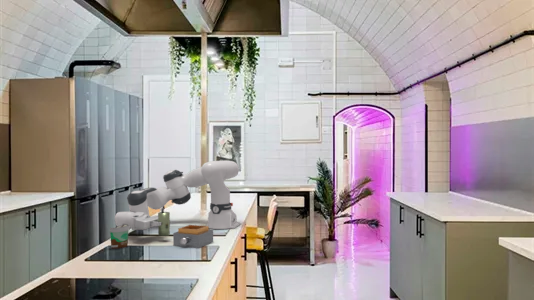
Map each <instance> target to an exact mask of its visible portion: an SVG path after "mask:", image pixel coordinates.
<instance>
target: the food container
mask: <svg viewBox="0 0 534 300" xmlns="http://www.w3.org/2000/svg"><path fill="white" fill-rule="evenodd" d="M130 230H131V229H130V227H129V225H128V224H122V226H115V227H110V228H109V235H110V249H111V250H112V249H113V250H117V249H118V250H119V249H125V248H127V247H128V243H129V232H130Z"/></svg>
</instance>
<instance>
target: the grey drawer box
mask: <svg viewBox="0 0 534 300" xmlns="http://www.w3.org/2000/svg"><path fill="white" fill-rule="evenodd" d="M172 234H173V237H172V238H173V241H172V242H173V244H172V245H173V246H175V247H186V248H195V249H199V248H202V247H205V246H207V245H209V244H212V243H213V242H214V230H213V229H210V228H208V226H206V225H197V224H196V225H195V224H189V225H186V226H182V227H179V228H178V230H177V231H175V232H173V233H172Z"/></svg>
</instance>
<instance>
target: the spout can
mask: <svg viewBox="0 0 534 300" xmlns="http://www.w3.org/2000/svg"><path fill="white" fill-rule="evenodd" d="M164 209H165V208H164V207H162V208H160V212H158V213H157V215H158V222H162V225H161V226H157V229H158V230H157V232H158V233H157V234H158V236H162V237H166V236H170V234H171V233H170V232H171V231H170V229H171V228H170V227H171V225H170V224H171V217H170V215H171V214H170V211H165V210H164Z"/></svg>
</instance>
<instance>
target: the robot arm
mask: <svg viewBox="0 0 534 300" xmlns="http://www.w3.org/2000/svg"><path fill="white" fill-rule="evenodd" d="M239 170H240V169H239V165H238V163H237V162H235V161H232V160H228V159H227V160H211V161H207V162H204V163H203V164H202V166H200V167H197V168H195V169H192V170H190V171H188V172H187V173H185V174H183V173H184V171H180V170H177V169H170V170H169V171H167V172H165V173H164V175H163V176H162V179H163V183H165V186H160V187H158V188H156V187H146V188H141V189H140V190H139V189H138V190H133V191H130V193H129V194H128V195H127V196H126V199H127V203H128V207H129V208H128V209H129V210H128V211H118V212H117V213H116V214H115V216H114V224H115V225H116V226H115V227H118V226H122V224H128V225H129V227H130V230H132V231H138V230H139V231H145V230H147V229H150V228H153V227H158V226H161V225H162V222H158V214H157V215H152V216H151V215H150V212H149V208H150V209H152V210H154V211H155V210H161V208H164V206H166V205H167V203H168V202H170V201H171V202H170V203H172V204H175V205H178V206H179V205H184V204H187V203H188V202H189V201H190V199H192V197H191V193H190V190H189V189H188V188H199V187H202V186H205V185H208V187H209V189H210V203H209V204H210V205H209V209H210V210H209V212H208V216H207V224H205V226H208V228H209V229H211V230H213V229H214V230H227V229H236V228H237V227H238V226H240V225H241V222H239V221H237V218H238V217H237V214H236V213H235V211H233V210H232V207H233V206H234V203H233V202H231V191H230V189H229V187H227V186H226V183H225V181H226V180H230V179H232V178H235V177H237V176H238V174H239Z"/></svg>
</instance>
